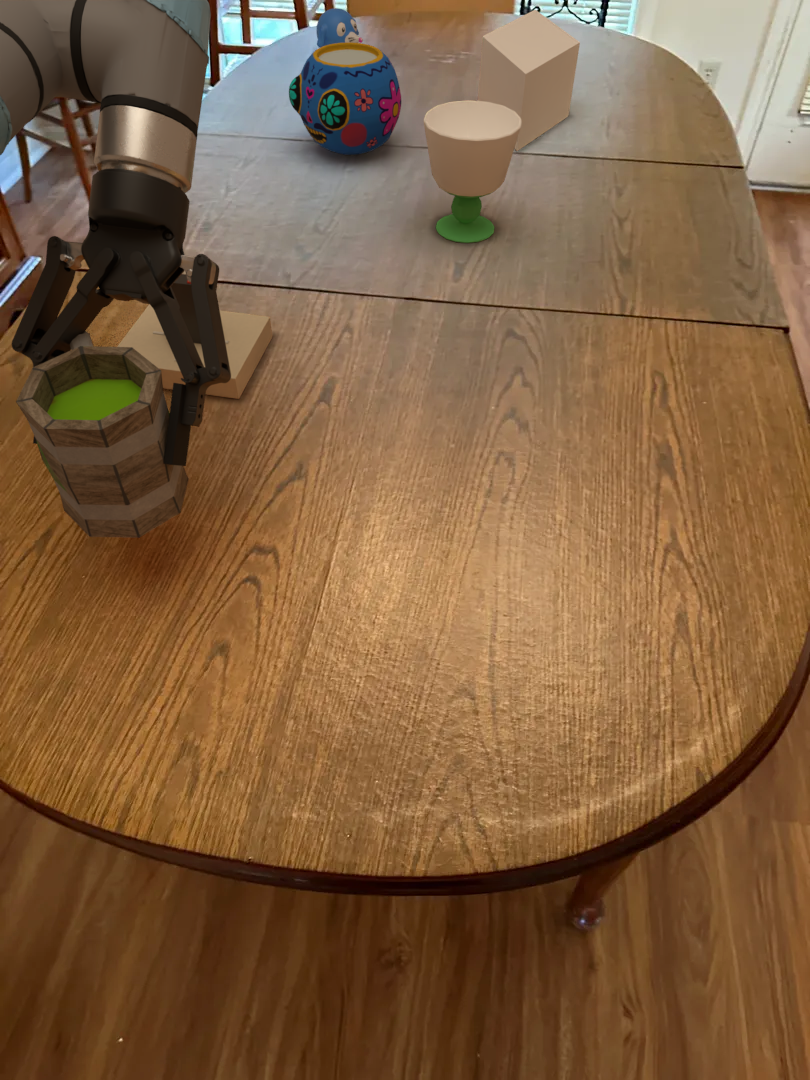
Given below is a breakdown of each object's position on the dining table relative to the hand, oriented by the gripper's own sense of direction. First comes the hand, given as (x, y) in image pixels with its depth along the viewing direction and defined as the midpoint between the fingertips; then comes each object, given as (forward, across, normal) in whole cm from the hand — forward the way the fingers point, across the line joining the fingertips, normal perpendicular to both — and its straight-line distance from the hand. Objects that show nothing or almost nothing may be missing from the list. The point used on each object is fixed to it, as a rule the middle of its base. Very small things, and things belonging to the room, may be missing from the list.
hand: (110, 455), depth 65 cm
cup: (-41, -20, -62) cm, 77 cm away
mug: (+2, +1, -6) cm, 6 cm away
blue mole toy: (-89, +17, -111) cm, 143 cm away
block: (-74, -24, -95) cm, 123 cm away
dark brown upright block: (-15, +8, -31) cm, 35 cm away
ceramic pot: (-58, +4, -79) cm, 98 cm away
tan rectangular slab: (-13, +8, -33) cm, 37 cm away
